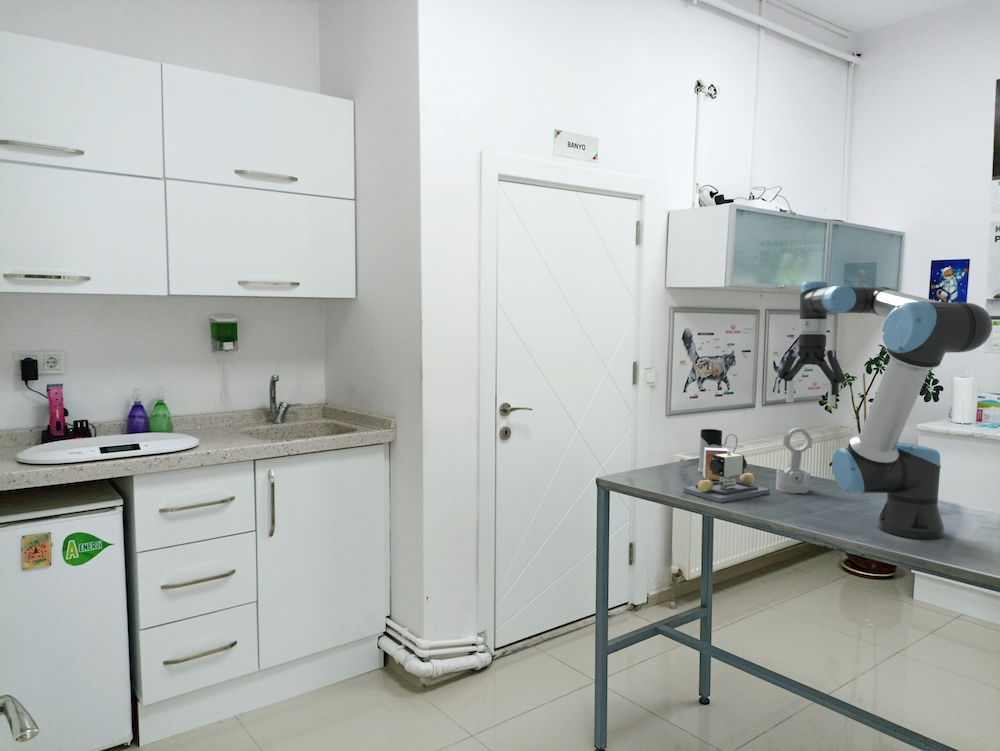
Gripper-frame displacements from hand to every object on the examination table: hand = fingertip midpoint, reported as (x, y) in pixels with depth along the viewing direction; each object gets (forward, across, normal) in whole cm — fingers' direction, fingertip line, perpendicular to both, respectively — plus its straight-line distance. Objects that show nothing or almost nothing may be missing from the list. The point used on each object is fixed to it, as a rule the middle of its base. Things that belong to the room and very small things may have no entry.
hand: (810, 404), depth 211 cm
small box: (+30, -37, +3) cm, 48 cm away
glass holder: (+30, -45, +13) cm, 55 cm away
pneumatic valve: (+29, -22, -10) cm, 37 cm away
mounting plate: (+30, -21, -10) cm, 38 cm away
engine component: (+30, -13, +12) cm, 35 cm away
